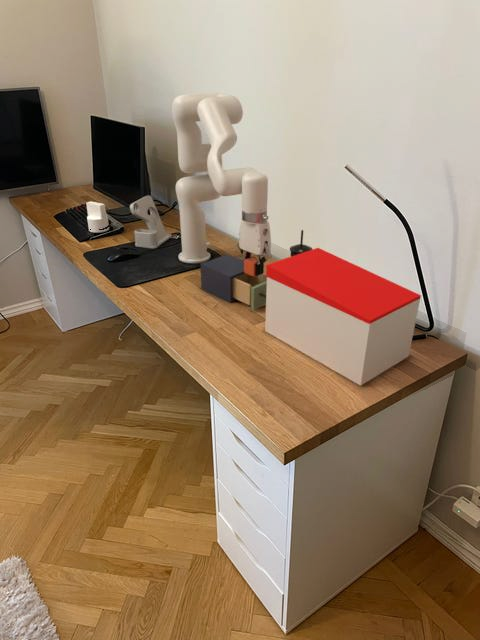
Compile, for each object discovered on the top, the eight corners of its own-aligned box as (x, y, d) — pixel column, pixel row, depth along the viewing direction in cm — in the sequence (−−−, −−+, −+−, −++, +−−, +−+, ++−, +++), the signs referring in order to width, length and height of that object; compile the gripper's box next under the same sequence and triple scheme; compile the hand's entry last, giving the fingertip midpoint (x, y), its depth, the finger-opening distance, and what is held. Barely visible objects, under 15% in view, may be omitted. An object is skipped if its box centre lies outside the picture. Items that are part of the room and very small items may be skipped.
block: (243, 272, 155) (243, 259, 153) (253, 268, 158) (253, 256, 156) (253, 276, 152) (253, 263, 150) (263, 272, 155) (263, 259, 153)
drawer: (291, 304, 156) (292, 283, 152) (266, 316, 149) (267, 294, 145) (249, 285, 168) (249, 265, 164) (224, 296, 161) (224, 275, 157)
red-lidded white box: (312, 309, 154) (317, 247, 144) (408, 356, 131) (422, 285, 121) (263, 330, 143) (265, 264, 133) (360, 385, 119) (371, 310, 109)
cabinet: (258, 291, 166) (258, 265, 162) (230, 302, 159) (230, 276, 154) (228, 278, 176) (228, 254, 171) (201, 288, 168) (200, 263, 164)
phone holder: (154, 249, 202) (150, 206, 193) (133, 246, 204) (128, 203, 196) (172, 235, 216) (169, 195, 207) (152, 233, 219) (148, 193, 210)
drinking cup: (295, 291, 166) (299, 235, 156) (283, 283, 172) (286, 228, 162) (314, 287, 169) (318, 232, 159) (301, 279, 175) (305, 225, 165)
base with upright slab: (113, 228, 225) (110, 202, 219) (99, 233, 218) (95, 207, 212) (99, 225, 229) (95, 199, 223) (84, 230, 222) (80, 204, 216)
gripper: (283, 219, 143) (281, 276, 152) (243, 207, 154) (243, 261, 163) (266, 225, 139) (264, 283, 147) (226, 212, 149) (227, 267, 158)
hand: (253, 271), depth 155 cm, fingers closed on block, 4 cm apart
